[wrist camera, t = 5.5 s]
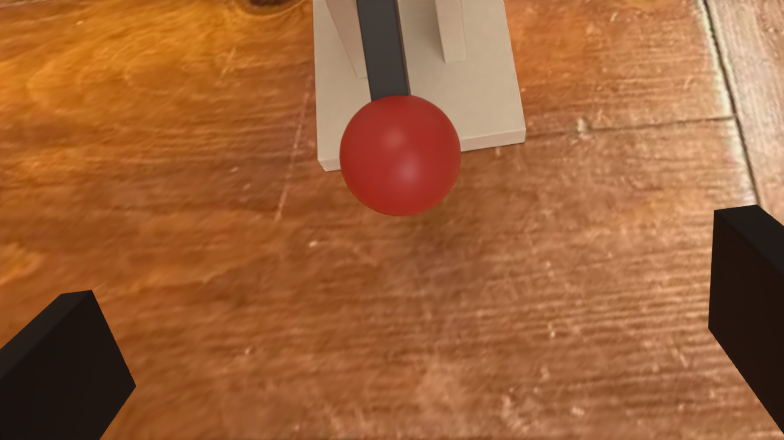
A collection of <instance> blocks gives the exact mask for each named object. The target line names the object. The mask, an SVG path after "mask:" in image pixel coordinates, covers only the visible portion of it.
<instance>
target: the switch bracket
mask: <svg viewBox="0 0 784 440" xmlns="http://www.w3.org/2000/svg"><path fill="white" fill-rule="evenodd" d="M398 7H399V14H400V21H401V28H402V35H403V42H404V49H405V56H406V63H407V70H408V77H409V83H410V90H411V95H414V96H418V97H421V98H423V99H426V100H428V101H430V102H431V103H433V104H434V105H436V106H437V107H438V108H440V109H441V110H442V111H443V112H444V113H445V114H446V115H447V117H448V118H449V119H450V121H451V122H452V124H453V126H454V128H455V130H456V132H457V135H458V138H459V142H460V147H461V151H468V150H475V149H482V148H488V147H495V146H502V145H509V144H516V143H522V142H525V135H526V126H525V121H524V115H523V109H522V104H521V98H520V92H519V86H518V81H517V75H516V69H515V64H514V58H513V52H512V47H511V41H510V35H509V30H508V24H507V18H506V13H505V7H504V1H503V0H398ZM313 27H314V58H315V90H316V121H317V152H318V162H319V163H320V164H321V166H322V167H323V169H324V170H325V171H333V170H340V169H341V167H340V159H339V152H340V144H341V139H342V136H343V133H344V131H345V129H346V126H347V125H348V123H349V121H350V120H351V118H352V117H353V116H354V115H355V114H356V113H357V112H358V111H359V110H360V109H361V108H362V107H363V106H365V105H366V104H367V103H369V102H371V97H370V90H369V84H368V77H367V71H366V64H365V58H364V51H363V44H362V38H361V31H360V25H359V18H358V12H357V5H356V0H313Z"/></svg>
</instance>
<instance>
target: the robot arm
mask: <svg viewBox="0 0 784 440" xmlns="http://www.w3.org/2000/svg"><path fill="white" fill-rule="evenodd" d="M708 329H709V330H710V331H711V333H712V334H713V336H714V337H715V338H716V340H717V341H718V343H719V344H720V345H721V347H722V348H723V350H724V351H725V352H726V354H727V355H728V357H729V358H730V359H731V361H732V362H733V364H734V365H735V366H736V368H737V369H738V371H739V372H740V374H741V375H742V376H743V378H744V379H745V381H746V382H747V383H748V385H749V386H750V388H751V389H752V390H753V392H754V393H755V395H756V396H757V397H758V399H759V400H760V402H761V403H762V404H763V406H764V407H765V409H766V410H767V411H768V413H769V414H770V416H771V417H772V418H773V420H774V421H775V423H776V424H777V425H778V427H779V428H780V430H781V431H782V432H783V434H784V226H783V225H782V224H781V223H779V222H778V221H777V220H776V219H774V218H773V217H772V216H771V215H769V214H768V213H767V212H766V211H764V210H763V209H762V208H761V207H759V206H758V205H750V206H742V207H734V208H727V209H719V210H714V224H713V244H712V263H711V282H710V301H709V321H708ZM135 387H136V385H135V382H134V380H133V378H132V376H131V374H130V372H129V369H128V367H127V365H126V363H125V361H124V359H123V357H122V354H121V352H120V350H119V348H118V346H117V344H116V341H115V339H114V337H113V335H112V333H111V331H110V328H109V326H108V324H107V322H106V320H105V318H104V315H103V313H102V311H101V309H100V307H99V305H98V302H97V300H96V298H95V296H94V294H93V292H92V290H88V291H80V292H72V293H64V294H60V295H59V296H58V297H57V298H56V299H55V300H54V301H53V302H52V303H50V304H49V305H48V306H47V307H46V308H45V309H44V310H43V311H42V312H41V313H40V314H38V315H37V316H36V317H35V318H34V319H33V320H32V321H31V322H30V323H29V324H28V325H26V326H25V327H24V328H23V329H22V330H21V331H20V332H19V333H18V334H17V335H16V336H14V337H13V338H12V339H11V340H10V341H9V342H8V343H7V344H6V345H5V346H4V347H2V348H1V349H0V440H99V439H100V438H101V437H102V435H103V434H104V432H105V431H106V429H107V428H108V426H109V425H110V423H111V422H112V421H113V419H114V418H115V416H116V415H117V413H118V412H119V410H120V409H121V407H122V406H123V405H124V403H125V402H126V400H127V399H128V397H129V396H130V394H131V393H132V392H133V390H134V389H135Z"/></svg>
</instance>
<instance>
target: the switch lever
mask: <svg viewBox="0 0 784 440" xmlns="http://www.w3.org/2000/svg"><path fill="white" fill-rule="evenodd" d="M356 5H357V12H358V18H359V25H360V31H361V38H362V44H363V51H364V58H365V64H366V71H367V77H368V84H369V90H370V97H371V102H369V103H367V104H366V105H365V106H363V107H362V108H361V109H360V110H359V111H358V112H357V113H356V114H355V115H354V116H353V117H352V118H351V120H350V121H349V123H348V125H347V126H346V129H345V131H344V133H343V136H342V139H341V144H340V152H339V159H340V167H341V171H342V175H343V177H344V180H345V182H346V184H347V186H348V187H349V189H350V190H351V192H352V193H353V194H354V195H355V197H356V198H357V199H358V200H359V201H361V202H362V203H363V204H364V205H366V206H367V207H369V208H370V209H372V210H374V211H377V212H379V213H382V214H385V215H390V216H410V215H415V214H418V213H421V212H424V211H426V210H428V209H430V208H431V207H433V206H434V205H436V204H437V203H438V202H440V201H441V200H442V199H443V198H444V197H445V196H446V195H447V193H448V192H449V191H450V189H451V188H452V186H453V184H454V182H455V180H456V178H457V175H458V172H459V168H460V163H461V147H460V142H459V138H458V135H457V132H456V130H455V128H454V126H453V124H452V122H451V121H450V119H449V118H448V117H447V115H446V114H445V113H444V112H443V111H442V110H441V109H440V108H438V107H437V106H436V105H434V104H433V103H431V102H430V101H428V100H426V99H423V98H421V97H418V96H414V95H411V90H410V83H409V77H408V70H407V63H406V56H405V49H404V42H403V35H402V28H401V21H400V14H399V7H398V0H356Z"/></svg>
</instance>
